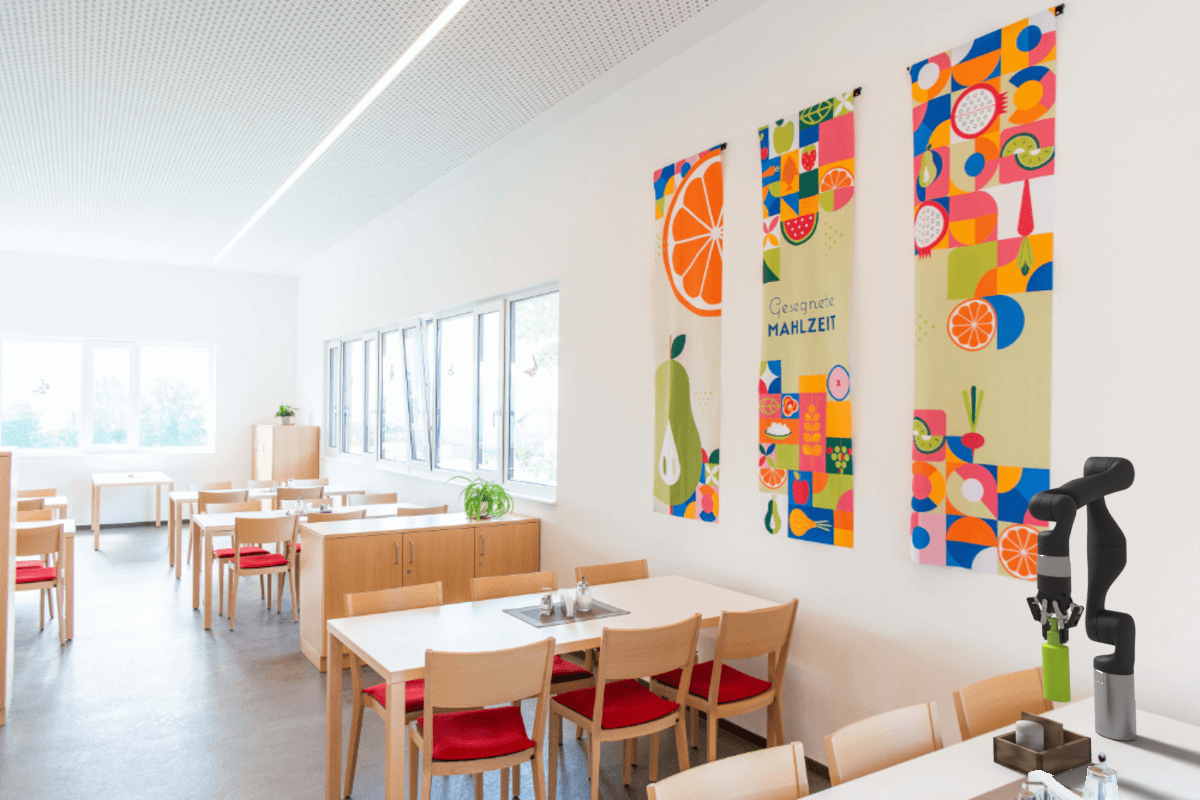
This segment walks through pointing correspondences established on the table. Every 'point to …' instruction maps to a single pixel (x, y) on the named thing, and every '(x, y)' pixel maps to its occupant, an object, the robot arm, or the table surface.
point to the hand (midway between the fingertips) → (1055, 641)
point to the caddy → (1041, 746)
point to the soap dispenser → (1055, 666)
